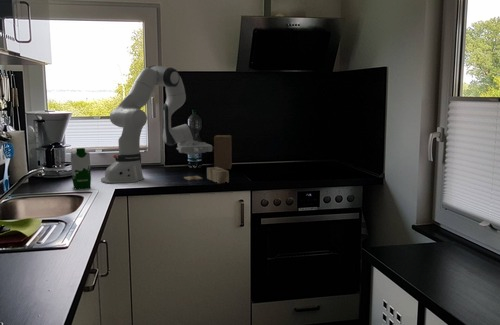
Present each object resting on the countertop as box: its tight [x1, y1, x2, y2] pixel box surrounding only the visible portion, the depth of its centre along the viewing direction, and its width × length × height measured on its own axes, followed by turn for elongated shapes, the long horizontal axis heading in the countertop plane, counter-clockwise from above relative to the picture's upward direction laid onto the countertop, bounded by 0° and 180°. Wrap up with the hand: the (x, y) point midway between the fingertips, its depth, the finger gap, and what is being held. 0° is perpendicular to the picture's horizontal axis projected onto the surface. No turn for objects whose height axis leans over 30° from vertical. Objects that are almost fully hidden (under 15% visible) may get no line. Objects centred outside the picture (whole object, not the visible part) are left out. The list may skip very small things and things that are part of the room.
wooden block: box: [213, 134, 233, 170], centre depth 301 cm, size 10×10×20 cm
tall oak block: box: [206, 166, 230, 184], centre depth 263 cm, size 6×6×16 cm
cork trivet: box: [183, 175, 203, 181], centre depth 269 cm, size 8×8×1 cm
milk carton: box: [70, 147, 92, 190], centre depth 244 cm, size 9×9×20 cm
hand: (200, 150), depth 282 cm, fingers closed
